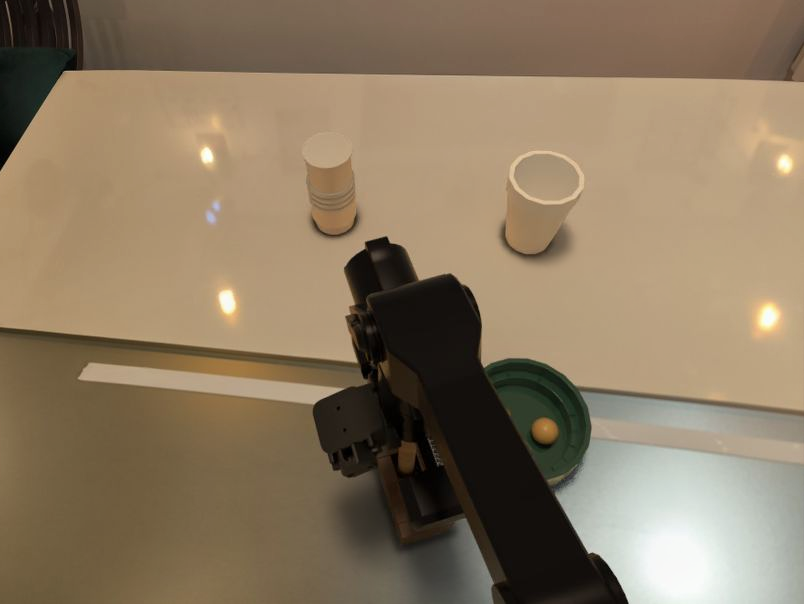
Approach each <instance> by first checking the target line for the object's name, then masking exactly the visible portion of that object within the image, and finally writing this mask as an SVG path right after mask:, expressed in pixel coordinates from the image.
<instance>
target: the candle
mask: <svg viewBox="0 0 804 604" xmlns="http://www.w3.org/2000/svg"><path fill="white" fill-rule="evenodd" d="M353 151H354V150H353V144H352V142H351V140H350V139H349V138H348V137H347V136H346V135H344V134H342V133H339V132H336V131H322V132H319V133H315V134H314V135H311V136H309V138H308V139H306V141H305V142H304V143H303V146H302V148H301V156H302V158H303V161H304V162H305V168H306V177H305V180H306V188H307V194H308V200H309V203H310V206H311V216H312V218H313V220H314V221H315V224H316V226H317V228H318V229H319V231H321V232H323V233H325V234H327V235H333V236H335V235H341V234H344V233H346V232H347V231H349V230H350V229H351V228H352V227H353V225H354V223H355V217H356V215H357V204H356V197H357V192H356V178H355V177H356V175H355V172H354V170H353V167H352V166H353V165H352V155H353Z"/></svg>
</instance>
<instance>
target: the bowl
mask: <svg viewBox="0 0 804 604" xmlns="http://www.w3.org/2000/svg"><path fill="white" fill-rule="evenodd" d="M483 367H484V369H485V371H486V373H487V375H488V377H489V379H490V380H491V382H492V384H493V386H494V387H495V389H496V391H497V393H498V395H499V396H500V398H501V400H502V402H503V403H504V405H505V407H506V408H507V409H508V410H509V412H510V414H511V417H512V419H513V421H514V423H515V425H516V426H517V428H518V430H519V432H520V433H521V435H522V437H523V439H524V440H525V442H526V443H527V446H528V448H529V449H530V451H531V453H532V455H533V456H534V458H535V460H536V462H537V463H538V465H539V467H540V469H541V470H542V472H543V474H544V476H545V478H546V479H547V481H548V483H549V485H550V486H551V487H554V486H557V485H558V484H559V483H561V482H562V481H563V480H564V479H565V478H567V477H568V476H569V475H570V474H571V473H572V472H573V471H574V469H576V467H577V466H578V465H579V464H580V462H581V461H582V460H583V458H584V456H585V455H586V453H587V450H588V449H589V447H590V444H591V435H592V429H593V428H592V427H593V425H592V421H591V415H590V411H589V407H588V405H587V403H586V401H585V399H584V397H583V395H582V394H581V391H580V390H579V388H578V387H577V386H576V385H575V384H574V383H573V382H572V381H571V380H570V379H569V378H568V377H567V376H566V375H565V374H564V373H562V372H561V371H558V370H557V369H556V368H554V367H552V366H551V365H549V364H548V363H544V362H541V361H538V360H534V359H531V358H527V357H526V358H523V357H509V358H508V357H507V358H504V359H499V360H497V361H494V362H489V364H487V365H486V366H483ZM539 418H549V419H551V420H552V421H554V422H555V423H556V425H557V427H558V430H559V435H558V438H557V439H556V441H555V442H553V443H551V444H547V445H546V444H541V443H539V442H537V441H536V440H535V439H534V437H533V435H532V431H531V428H532V425H533V423H534V422H535V421H536V420H537V419H539Z"/></svg>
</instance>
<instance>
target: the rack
mask: <svg viewBox="0 0 804 604" xmlns="http://www.w3.org/2000/svg"><path fill="white" fill-rule="evenodd" d="M381 448H382V450H383V451H382V452H381V453H379V454H378V455H377V457H376V459H377V463H378V466H377V467H376V468H377V470H378V473H379V477H380V479H381V483H382V486H383V490H384V493H385V497H386V499H387V502H388V506H389V509H390V513H391V516H392V519H393V522H394V523H393V524H394V526H395V529H396V531H397V535H398V540H399V542H400V545H401V546H405V545H408V544H412V543H414V542H418V541H422V540H424V539H428V538H430V537H435V536H437V535H440V534H443V533H447V532H449V531H452V530H453V527H454V525H455V522H456V521H453V522H450V523H447V524H444V525H440V526H437V527H434V528H431V529H428V530H424V531H421V532H417V531H416V530H414V529H412V528H410V526H409V522H408V519H407V516H406V513H405V510H404V507H403V504H402V500H401V497H400V493H399V489H398V486H397V484H398V481H399V480H401V479H400V478H399V477H398V473H397V472H396V471H397V470H396V468H395V466H394V464H398V456H399V448H396V449H392V450H389V451H387V448H386V445H384V446H381ZM414 467H415V468H416V473H418V472H421V471H424V468H423V465H422V462H421V459H420V457H419V454H418V451H417V448H416V456H415V464H414ZM402 479H403V478H402Z"/></svg>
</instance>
